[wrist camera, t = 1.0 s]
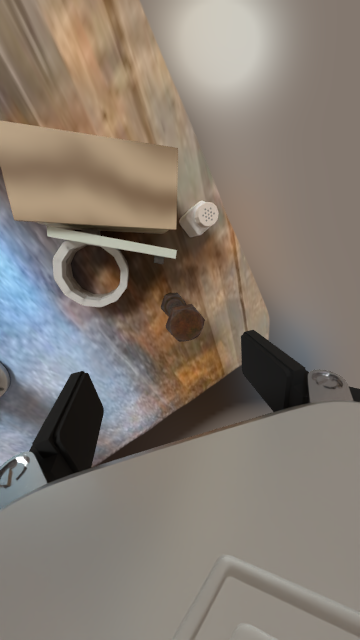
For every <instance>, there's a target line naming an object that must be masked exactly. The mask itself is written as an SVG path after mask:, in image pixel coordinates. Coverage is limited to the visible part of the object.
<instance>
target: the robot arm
mask: <svg viewBox="0 0 360 640" xmlns="http://www.w3.org/2000/svg"><path fill="white" fill-rule="evenodd" d="M241 351H242V371H243V374H244V375H245V377H246V378H247V379H248V381H249V382H250V383H251V384H252V386H253V387H254V388H255V389H256V391H257V392H258V393H259V394H260V395H261V397H262V398H263V399H264V400H265V402H266V403H267V404H268V405H269V407H270V408H271V409H272V410H273V413H269V414H266V415H262V416H259V417H256V418H252V419H249V420H245V421H242V422H239V423H235V424H232V425H228V426H225V427H222V428H219V429H215V430H212V431H209V432H205V433H202V434H199V435H196V436H192V437H189V438H185V439H183V440H179V441H176V442H172V443H169V444H166V445H163V446H159V447H156V448H153V449H150V450H146V451H143V452H140V453H137V454H133V455H131V456H127V457H124V458H121V459H118V460H114V461H111V462H108V463H105V464H102V465H99V466H95V467H92V468H91V466H92V461H93V457H94V453H95V448H96V444H97V440H98V435H99V431H100V426H101V422H102V418H103V413H104V409H103V406H102V403H101V401H100V399H99V397H98V394H97V392H96V390H95V388H94V385H93V383H92V381H91V379H90V376H89V374H88V373H85V372H84V371H81V372H77V373H73V374H71V375H70V377H69V379H68V381H67V382H66V384H65V386H64V388H63V390H62V391H61V393H60V395H59V397H58V399H57V400H56V402H55V404H54V406H53V408H52V409H51V411H50V413H49V415H48V417H47V418H46V420H45V422H44V424H43V426H42V427H41V429H40V431H39V433H38V435H37V436H36V438H35V440H34V442H33V445H32V447H31V449H30V451H29V452H28V451H27V452H22V453H20V454H18V455H15V456H14V457H12V458H11V459H9V460H8V461H6V462H5V463H4V464H3V465H2V466H0V640H360V389H357V388H353V387H349V386H348V384H347V382H346V381H345V379H343V378H342V377H341V376H339V375H337V374H335V373H333V372H331V371H326V370H313V371H311V372H308V371H306V370H305V367H303V366H302V365H301V364H299V363H298V362H297V361H295V360H294V359H293V358H291V357H290V356H288V355H287V354H286V353H284V352H283V351H281V350H280V349H279V348H277V347H276V346H275V345H273V344H272V343H271V342H269V341H268V340H267V339H265V338H264V337H263V336H261V335H260V334H258V333H257V332H256V331H254V330H251V331H246V332H244V333H243V335H242V336H241ZM9 384H10V376H9V374H8V371H7V370H6V368H5V367H4V366H3V365H2V364H1V363H0V397H1V396H2V395H3V394H4V393H5V392H6V391H7V389H8V387H9Z"/></svg>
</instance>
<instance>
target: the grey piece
mask: <svg viewBox="0 0 360 640" xmlns="http://www.w3.org/2000/svg"><path fill="white" fill-rule="evenodd" d="M47 236H48V237H54V238H60V239H65V240H68V241H65V242H64V243H62V245H61V246H60V248H59V249H58V251H57V253H56V254H55V256H54V257H53V273H54V279H55V281H56V282H57V284H58V285H59V287H60V288H61V290H62V291H63V293H64V294H65V296H67V297H69V298H70V299H72V300H74V301H76V302H77V303H79V304H81V305H83V306H93V307H103V306H105V305H108V304H110V303H113V302H115V301H117V300H118V299H119V297H120V296H121V295H122V293H123V292H124V291H125V289H126V288H127V284H128V271H129V269H128V266H127V264H126V262H125V260H124V258H123V256H122V253H121V252H120V251H119V250H118V249H123V250H128V251H134V252H140V253H146V254H151V255H155V256H154V263H158V264H163V263H164V257H169V258H174V259H176V252H177V250H173V249H168V248H163V247H157V246H152V245H147V244H141V243H136V242H131V241H125V240H120V239H115V238H109V237H104V236H99V235H93V234H88V233H83V232H77V231H72V230H67V229H61V228H56V227H51V226H47ZM86 244H88V245H94V246H100V247H102V248H103V249H104V250H106V251H107V252H108V253H110V254H111V255H112V256H114V258H115V260H116V262H117V264H118V266H119V268H120V270H121V275H120V285H119V286H118V287H117V289H116V290H115V291H114V293H112V294H110V295H107V296H105V297H102V298H97V297H88V296H86V295H84V294H82V293H81V292H79V291H78V290H76V289H74V287H73V285H72V284H71V282H70V281H69V279H68V277H67V276H66V260H67V259H68V257H69V256H70V254H71V253H72V251H73V250H74V249H76V248H79V247H81V246H84V245H86ZM116 248H117V249H116Z"/></svg>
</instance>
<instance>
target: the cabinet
mask: <svg viewBox="0 0 360 640" xmlns="http://www.w3.org/2000/svg"><path fill="white" fill-rule="evenodd" d="M0 167H1V170H2V174H3V178H4V182H5V186H6V190H7V194H8V198H9V201H10V205H11V209H12V213H13V217H14V220H16V221H27V222H36V223H40V224H44V225H47V226H51V227H56V228H61V229H78V230H82V232H83V233H88V234H93V235H99V236H100V231H117V232H136V233H155V234H163V233H165V232H167V231H168V230H176V220H177V171H178V148H174V147H168V146H161V145H155V144H149V143H142V142H136V141H129V140H123V139H116V138H110V137H103V136H97V135H90V134H84V133H77V132H71V131H64V130H58V129H51V128H45V127H38V126H32V125H26V124H19V123H13V122H6V121H0ZM87 245H88V244H86V245H84V246H81V247H79V248H76V249H74V250H73V251H72V253H71V254H70V256H69V257H68V259H67V260H66V276H67V277H68V279H69V281H70V282H71V284H72V285H73V287H74V289H76V290H78V291H79V292H81V293H82V294H84V295H86V296H88V297H97V298H102V297H105V296H107V295H110V294H112V293H114V291H115V290H116V289H117V288H116V289H115V290H113V291H111V292H110V293H108V294H93V293H91V292H89V291H87V290H85V289H82V288H81V287H80V285H79V284H78V283H77V282H76V280H75V279H74V278H73V274H72V268H71V262H72V260H73V258H74V255H75V253H76V252H77V251H78V250H80V249H82V248H84V247H85V246H87ZM116 249H117V248H116ZM118 250H119V251H120V249H118ZM120 252H121V251H120ZM122 256H123V254H122ZM123 258H124V260H125V262H126V264H127V266H128V262H127V260H126V259H125V257H124V256H123ZM128 269H129V268H128ZM128 281H129V271H128ZM119 285H120V284H119Z"/></svg>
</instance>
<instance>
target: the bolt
mask: <svg viewBox="0 0 360 640" xmlns="http://www.w3.org/2000/svg"><path fill="white" fill-rule="evenodd" d="M161 309H162V310H163V311H164V312H165V313H166V314H167V315H168V316H169V318H168V321H167V324H166V328H167V330H168V331H169V332H170V333H171V334H172V335H173V336H174V337H175V338H176V339H177V340H178V341H179V342H180V341H189V340H192V339H195V338H197V337H198V336H199V334H200V333H201V331H202V328H203V325H204V321H205V319H204V318H203V317H202V316H201V314H200V313H199V312H198V311H197V310H196V308H195V307H194V306H193V305H192V304H189V305H186V302H185V301H184V300H183V299H182V298H181V296H180V295H179V294H178V293H169V294H167V295H165V296H164V299H163V301H162V305H161Z"/></svg>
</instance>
